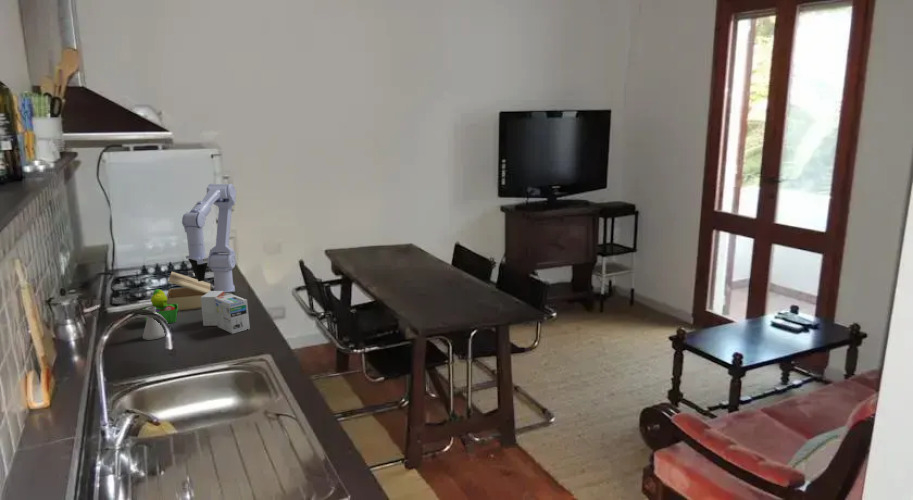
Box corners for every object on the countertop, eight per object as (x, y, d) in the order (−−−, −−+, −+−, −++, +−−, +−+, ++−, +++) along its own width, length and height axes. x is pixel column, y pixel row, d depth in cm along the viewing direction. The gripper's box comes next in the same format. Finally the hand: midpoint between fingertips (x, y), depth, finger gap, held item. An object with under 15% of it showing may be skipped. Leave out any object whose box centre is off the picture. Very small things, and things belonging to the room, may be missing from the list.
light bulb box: (250, 329, 220) (247, 299, 217) (232, 334, 215) (229, 303, 212) (234, 322, 227) (232, 293, 224) (216, 327, 222) (213, 297, 220)
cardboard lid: (171, 272, 250) (171, 271, 250) (210, 285, 256) (210, 283, 256) (168, 282, 237) (168, 280, 237) (209, 294, 243) (209, 292, 243)
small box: (218, 326, 223) (216, 297, 221) (203, 326, 223) (199, 297, 221) (227, 318, 231) (224, 290, 229) (212, 318, 231) (209, 290, 229)
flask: (161, 331, 219) (158, 303, 216) (169, 336, 214) (166, 307, 211) (139, 336, 214) (135, 308, 211) (147, 342, 209) (143, 312, 206)
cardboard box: (170, 301, 252) (169, 289, 251) (211, 297, 257) (210, 285, 256) (167, 311, 239) (166, 299, 238) (210, 307, 244) (209, 294, 243)
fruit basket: (144, 327, 222) (140, 296, 220) (144, 320, 230) (140, 289, 228) (179, 322, 227) (176, 292, 224) (179, 315, 235) (175, 285, 232)
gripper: (182, 241, 247) (186, 275, 250) (187, 248, 234) (191, 284, 237) (201, 239, 250) (205, 273, 253) (207, 246, 238) (211, 281, 241)
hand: (199, 278), depth 245 cm, fingers open, 7 cm apart
